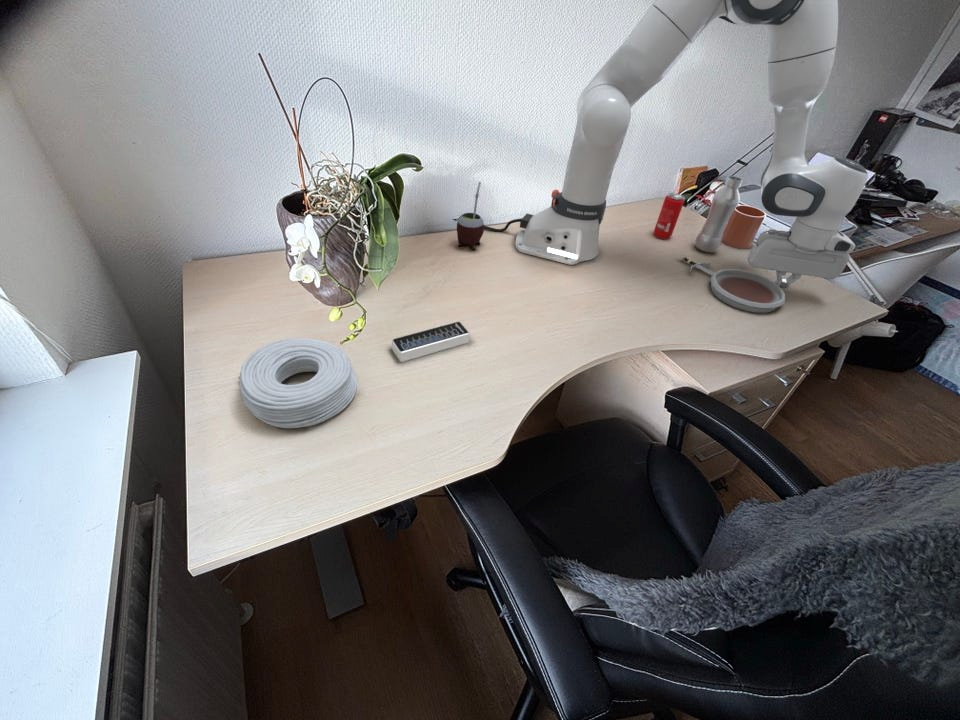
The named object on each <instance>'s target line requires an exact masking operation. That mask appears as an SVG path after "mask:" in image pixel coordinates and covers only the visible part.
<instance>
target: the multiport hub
mask: <svg viewBox="0 0 960 720" xmlns="http://www.w3.org/2000/svg"><path fill="white" fill-rule="evenodd" d="M469 343H470V331H469V329H467V328H466V326H465V325H464V324H463V323H462V322H461V321H455V322H450V323H448V324H447V323H446V324H444V325H443V324H442V325H440V326H436V327H432V328H428V329H425V330H421V331H418V332H414V333H410V334H407V335H403V336H399V337H395V338H392V339H391V350H392V353H394V355H395V356H396V358H397V360H398V361H399V362H400V363H404V362H407V361H411V360H414V359H418V358H421V357H425V356H427V355H431V354H434V353H438V352H441V351H442V352H443V351H444V350H449V349H451V348H455V347H459V346H462V345H465V344H469Z"/></svg>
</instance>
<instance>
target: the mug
mask: <svg viewBox="0 0 960 720" xmlns="http://www.w3.org/2000/svg"><path fill="white" fill-rule="evenodd" d="M766 217H767V213H766V212H765V211H764V210H762V209H760V208H758V207H755V206H752V205H746V204H738V205H737V207H736V208H735V210H734V211H733V213H732V215H731V217H730V219H729V221H728V223H727V225H726V227H725V230H724V233H723V236H722V241H721V243H723V244H726V246H729V247H732V248H736V249H743V250H745V249H749V248H751V247H752V245H753V244H754V241H755V239H756V238H757V235H758V233H759V231H760V229H761V227H762V225H763V223H764V221H765V219H766Z"/></svg>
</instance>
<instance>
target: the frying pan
mask: <svg viewBox="0 0 960 720" xmlns="http://www.w3.org/2000/svg"><path fill="white" fill-rule="evenodd" d="M679 260H680V262H686V263H687V264H689V265H691V266H690V267H689V272H688V273H692V270H693V269H695V268H697V269H698V270H701V271H703V273H706V274H708V275H709V276H711V277H710V282H711V283H710V288H711V291H712V293H713V295H715V296H716V297H717V298H718V299H719V300H721V301H722V302H723V303H725V304H727V305H729V306H731V307H732V308H733V307H734V308H736V309H739V310H741V311H746V312H750V313H756V314H757V313H758V314H759V313H761V314H763V313H764V314H766V313H770V312H771V313H772V312H774V311H775V310H776V309H778V308H779V307H781V306H782V305H784V304H785V302H786V294H785V292H784V290H783V288H780V287H779V286H778V285H777V284H776V283H775V281H773V280H771V279H770V278H768V277H765V276H763V275H761V274H758V273H755V272H752V271H749V270H745V269H744V270H743V269H738V268H725V269H720V270H718V271H716V272H713V271H712V270H710V269H708V268H706V266H707V267H710V266H711V263H712V262H706V261H701V262H698V263H696V261H695V262H694V261H693V260H692V259H689V258H687V256H686V255H685V254H683V255H681V256H680V257H679ZM704 266H705V267H704Z"/></svg>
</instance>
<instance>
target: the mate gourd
mask: <svg viewBox="0 0 960 720" xmlns="http://www.w3.org/2000/svg"><path fill="white" fill-rule="evenodd" d="M481 184H482V182H481V181H479V182H478V184H477V188H476V193H475V195H474V198H475V200H474V206H473V207H474V208H473V212H464V213H462V214H461V215H460V217H459V218H458V219H457V223H456V234H457V241H458V244H457V247H458V248H459V249H460V248H469V249H470V251H472V252H475V251H476V248H475V247H476V246H480V245H481V242H480V241H481V239H482V237H483V235H484V231H485V229H484V226H485V224H484V223H485V222H484V220H483V217H482V216H481V215H480V214H478V213H477V209H478V208H477V207H478V200H479V196H480V194H479V193H480V188H481Z"/></svg>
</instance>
